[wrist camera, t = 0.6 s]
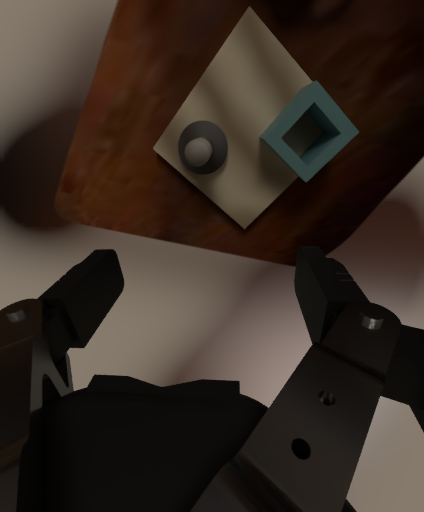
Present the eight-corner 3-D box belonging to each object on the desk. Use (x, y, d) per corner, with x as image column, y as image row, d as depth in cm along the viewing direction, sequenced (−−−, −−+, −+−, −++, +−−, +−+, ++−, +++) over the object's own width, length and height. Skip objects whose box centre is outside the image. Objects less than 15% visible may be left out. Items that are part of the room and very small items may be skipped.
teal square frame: (302, 87, 25) (316, 80, 21) (338, 130, 27) (359, 132, 22) (259, 137, 28) (264, 139, 23) (295, 174, 29) (306, 182, 25)
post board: (248, 12, 24) (255, -39, 16) (343, 126, 28) (384, 126, 20) (156, 147, 30) (131, 155, 23) (244, 225, 34) (247, 253, 27)
